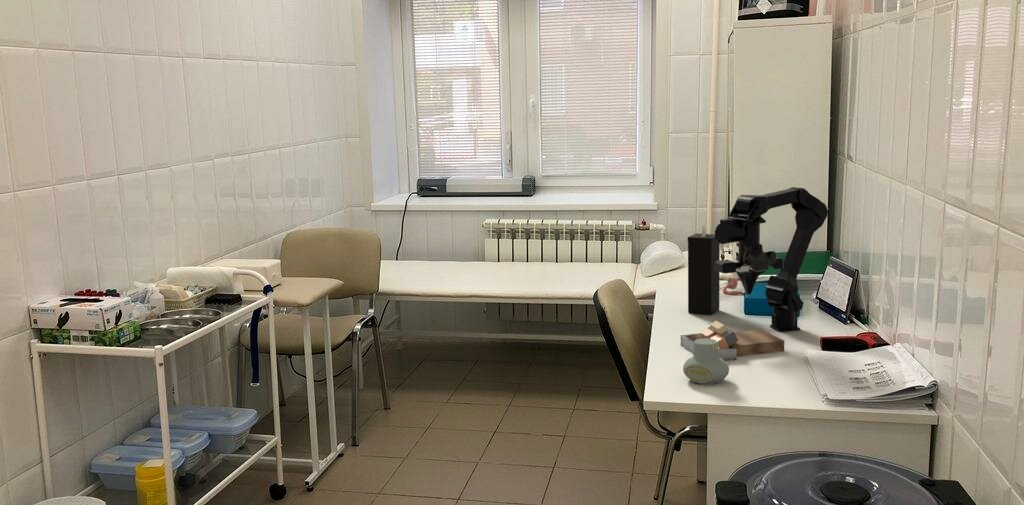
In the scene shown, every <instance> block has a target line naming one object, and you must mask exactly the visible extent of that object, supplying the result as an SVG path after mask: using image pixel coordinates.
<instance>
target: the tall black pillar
mask: <svg viewBox="0 0 1024 505" xmlns="http://www.w3.org/2000/svg"><path fill="white" fill-rule="evenodd" d="M701 230H702V233H698V232H697V233H694V234H692V235H689V236H688V237H687V303H688V304H687V313H688V314H694V315H695V314H696V315H704V316H705V315H706V316H712V315H713V314H716V313H717V312H718V311H720V288H719V287H720V286H719V285H720V272H718V271H716V270H714V264H715V263H716V261H717V260H721V259H720V257H721V256H720V255H721V254H720V250H721V249H720V243H719V242H718V241H717V240H716V238H715V233H706V232H707V226H706V225H701Z"/></svg>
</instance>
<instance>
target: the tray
mask: <svg viewBox="0 0 1024 505" xmlns="http://www.w3.org/2000/svg"><path fill="white" fill-rule="evenodd" d="M697 339H702V335H701V333H699V332H698V333H689V334H681V335H680V347H682V348H683V347H684V349H685V350H687V351H688V352H690V353H691V352H692V353H691V354H693V349H694V341H695V340H697ZM718 357H720V358H721V359H723V360H724V361H725V362H729V361H731V362H732V361H737V360H738V359H737V349H736V348H731V349H722V350H718Z"/></svg>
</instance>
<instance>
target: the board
mask: <svg viewBox="0 0 1024 505" xmlns="http://www.w3.org/2000/svg"><path fill="white" fill-rule="evenodd" d="M734 332H735V334H736V336H737V338H738V340H739V341H737V342H735V343H734V344H732V345H731V346H729V349H731V348H736V349H737V357H744V356H754V355H763V354H772V352H773V353H782V352H785V339H782V338H780V337H779V336H777V335H774V334H772V333H770V332H768V331H766V330H764V329H761V328H760V329H753V330H745V331H744V330H742V331H734Z"/></svg>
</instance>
